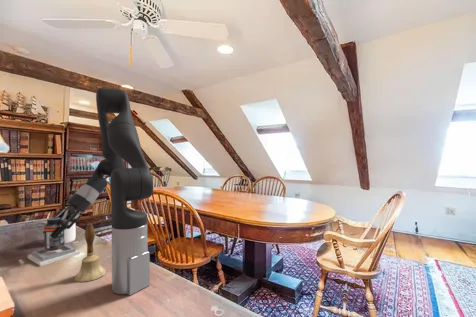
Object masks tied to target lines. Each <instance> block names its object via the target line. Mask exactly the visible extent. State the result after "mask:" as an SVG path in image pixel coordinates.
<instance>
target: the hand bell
mask: <svg viewBox="0 0 476 317" xmlns="http://www.w3.org/2000/svg"><path fill="white" fill-rule="evenodd" d="M95 232H96V231H95V228H94V226H93V223H91V222H90V223H87V224H86V228H85V230H84V238H85V243H86V256H85V257H83V258H82V260H81V266H80V269H79V271H78V273H77V274H76V275H75V276H74V281H75V282H78V283H86V282H93V281H96V280H98V279H101V278H102V277H104V276H105V274H106V273H107V270H106V269H105V268H104V267H103V266H102V264H101V262H100V261H101V260H100V257H99V256H98V255H96V254H94V253H95V252H94V242H95V236H96V234H95Z"/></svg>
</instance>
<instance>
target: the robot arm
mask: <svg viewBox="0 0 476 317" xmlns="http://www.w3.org/2000/svg"><path fill="white" fill-rule="evenodd" d="M95 97H96V98H95V100H96V101H95V102H96V111H97V118H98V124H99V129H100V130H99V131H100V136H101V154H102V157H103V158H104V159H102V160H101V161H99V163H98V165H97V167H96V169H95V170H94V172H93V174H92V176H91V177H90V178H89V179H88V180H87V181H86V182H85V183H84V184H83V185H82V186H80V188H78V190H76V191H75V192H74V193H73V194H72V196H71V197H70V198H68V199H67V201H66V202H65V203H66V205H67V207H66V208H62V207H60V209H59V210H58V211H56V213H55V214H54V215H53V217H60V218H61V223H60V225H59V227H57V228H56V229H55V230H54V231H53V232H52V233H51V235H50V236H51V237H52V238H54V239H56V238H57V237H58V236H59V235H60V234H61V232H62V231H63V230H66V229H69V228H70V227H71V226H72V225H73V224H74V223H75V222H76V223H77V221H79V219H81V217H82V215H81V213H82V214H85V212H86V211H87V210H88V209H89V208H90V206H91V205H92V204H94V203H95V201H96V200H97V198H99V195H101V193H102V192H103V191H104V190H105V189H106V188H107V186H108V181H107V180H106V179H105V178H104V176H105V175H106V176H107V177H109V190H110V192H109V193H110V202H111V203H110V206H111V290H112V292H113V293H115V294H117V295H129V296H131V295H135V293H137V292H139V291H142V290H143V289H145V288H147V287H149V286H150V284H151V281H150V280H151V278H150V277H151V273H150V270H151V269H150V262H151V261H150V260H151V259H150V258H151V257H150V251H149V250H148V214H147V213H146V212H144V211H142V210H136V209H132V208H130V207H128V206H126V202H130V201H131V202H132V201H141V200H146V199H150V197H152V195H153V193H154V180H153V176H152V172H151V170H150V167H149V165H148V163H147V161H146V158H145V156H144V153H143V149H142V147H141V142H140V136H139V134H138V130H137V127H136V125H135V121H134V118H133V115H132V109H131V104H130V98H129V95H128V93H127V91H126V90H123V89H120V88H109V87H108V88H107V87H99V88H98V89H97V90H96V95H95ZM107 114H117V115H116V116H115V117H114V118H112V120H111V121H109V119H108V115H107ZM124 162H126V163H127V164H128V165H129V166H130V167H126V168H125V163H124ZM53 217H52V218H53ZM42 234H44V230H43V231H42Z"/></svg>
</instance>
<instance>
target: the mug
mask: <svg viewBox="0 0 476 317" xmlns="http://www.w3.org/2000/svg"><path fill="white" fill-rule="evenodd" d="M76 223H77V221H76V222H75V223H74V224H73V225H72V226H71V227H70V228H69V229H66V230H64V241H65V244H70V243H72V242H74V241H75V240H76V236H77V235H76V231H77V230H76V227H77V226H76Z"/></svg>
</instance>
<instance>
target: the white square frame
mask: <svg viewBox="0 0 476 317" xmlns="http://www.w3.org/2000/svg"><path fill="white" fill-rule="evenodd" d="M80 252H81V251H80V250H78V249H76V248H75V247H73V246H71V245H69V244H67V243H65V244H64V247H63V248H61V249H59V250H55V251H46V250H45V248H40V249H39V250H34V251H32V252H31V254H28V255H27V259H28V260H30V261H32V263H34V264H37V265H38V266H40V267H43V266H46V265H49V264H51V263H56V262H58V261H62V260H66V259H68V258H72V257H74V256H78V255H80Z"/></svg>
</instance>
